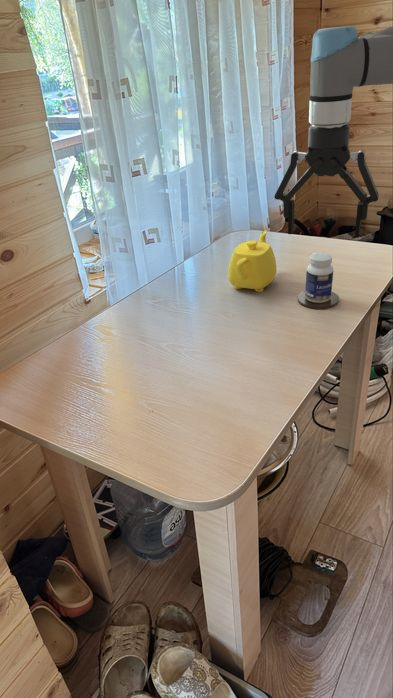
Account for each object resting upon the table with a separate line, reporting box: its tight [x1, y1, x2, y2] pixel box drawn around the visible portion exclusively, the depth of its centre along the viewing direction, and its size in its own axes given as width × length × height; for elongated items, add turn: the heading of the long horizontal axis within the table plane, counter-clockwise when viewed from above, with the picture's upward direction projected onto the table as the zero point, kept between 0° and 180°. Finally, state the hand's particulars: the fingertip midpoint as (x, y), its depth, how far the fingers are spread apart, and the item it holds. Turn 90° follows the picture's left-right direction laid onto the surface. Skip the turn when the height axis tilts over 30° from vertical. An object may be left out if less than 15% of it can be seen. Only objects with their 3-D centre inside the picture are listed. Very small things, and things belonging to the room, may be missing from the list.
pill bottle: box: [304, 252, 334, 303], centre depth 113 cm, size 6×6×10 cm
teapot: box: [227, 230, 278, 293], centre depth 123 cm, size 18×11×11 cm, turn 154°
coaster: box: [297, 290, 340, 310], centre depth 116 cm, size 9×9×1 cm
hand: (323, 233), depth 107 cm, fingers open, 13 cm apart
